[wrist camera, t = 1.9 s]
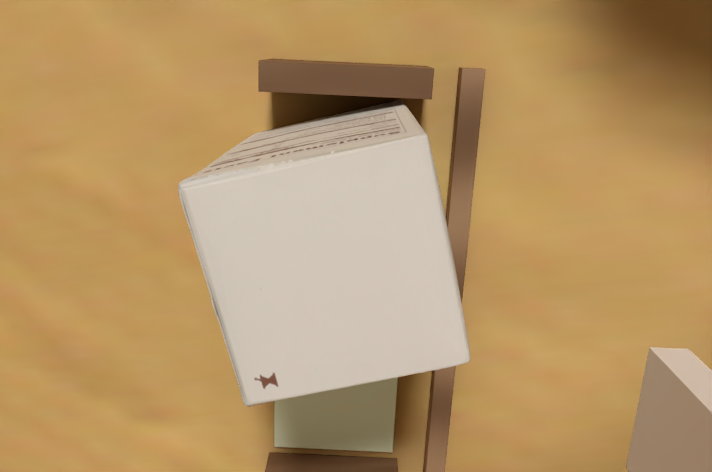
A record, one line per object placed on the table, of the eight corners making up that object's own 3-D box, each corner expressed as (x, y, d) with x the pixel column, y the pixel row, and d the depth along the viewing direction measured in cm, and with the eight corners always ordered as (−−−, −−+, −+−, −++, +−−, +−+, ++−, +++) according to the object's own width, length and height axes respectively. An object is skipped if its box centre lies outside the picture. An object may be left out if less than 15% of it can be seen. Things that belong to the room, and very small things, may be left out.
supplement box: (433, 244, 31) (477, 373, 19) (287, 273, 31) (237, 416, 19) (405, 94, 29) (434, 129, 17) (249, 127, 29) (167, 185, 17)
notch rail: (271, 59, 28) (258, 60, 25) (481, 68, 28) (496, 71, 25) (268, 617, 38) (259, 672, 34) (426, 624, 38) (432, 681, 34)
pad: (276, 308, 32) (275, 310, 32) (401, 314, 32) (402, 316, 31) (275, 443, 34) (274, 446, 34) (392, 448, 34) (392, 452, 34)
